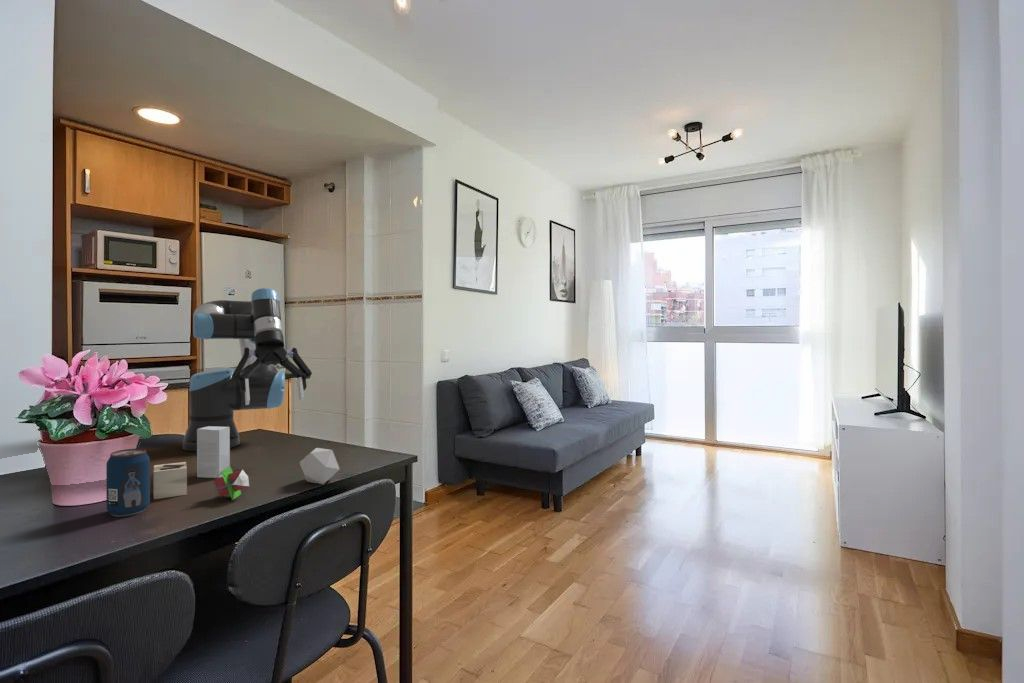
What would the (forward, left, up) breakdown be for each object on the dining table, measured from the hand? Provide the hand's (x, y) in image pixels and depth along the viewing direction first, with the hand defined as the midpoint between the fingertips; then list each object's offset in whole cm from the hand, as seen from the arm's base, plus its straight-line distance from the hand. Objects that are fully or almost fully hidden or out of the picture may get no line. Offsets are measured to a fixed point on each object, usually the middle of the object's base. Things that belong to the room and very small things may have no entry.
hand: (275, 401), depth 139 cm
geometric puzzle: (+25, -13, -17) cm, 33 cm away
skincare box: (+5, -15, -17) cm, 23 cm away
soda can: (+24, -31, -17) cm, 43 cm away
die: (+23, +6, -17) cm, 30 cm away
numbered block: (+15, -24, -17) cm, 33 cm away
